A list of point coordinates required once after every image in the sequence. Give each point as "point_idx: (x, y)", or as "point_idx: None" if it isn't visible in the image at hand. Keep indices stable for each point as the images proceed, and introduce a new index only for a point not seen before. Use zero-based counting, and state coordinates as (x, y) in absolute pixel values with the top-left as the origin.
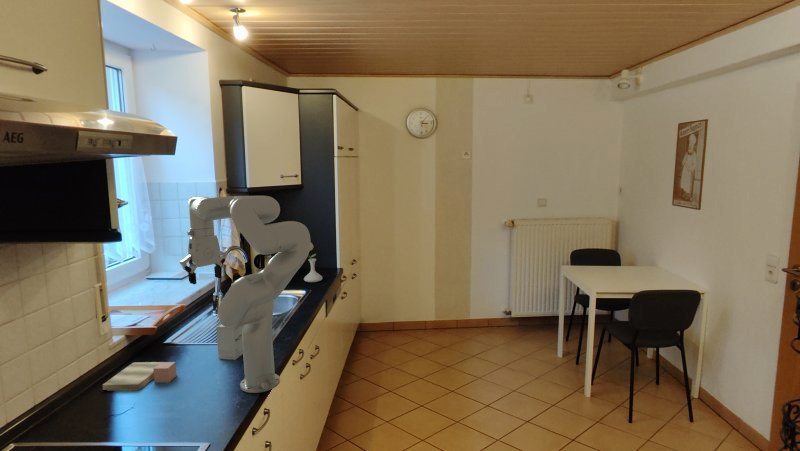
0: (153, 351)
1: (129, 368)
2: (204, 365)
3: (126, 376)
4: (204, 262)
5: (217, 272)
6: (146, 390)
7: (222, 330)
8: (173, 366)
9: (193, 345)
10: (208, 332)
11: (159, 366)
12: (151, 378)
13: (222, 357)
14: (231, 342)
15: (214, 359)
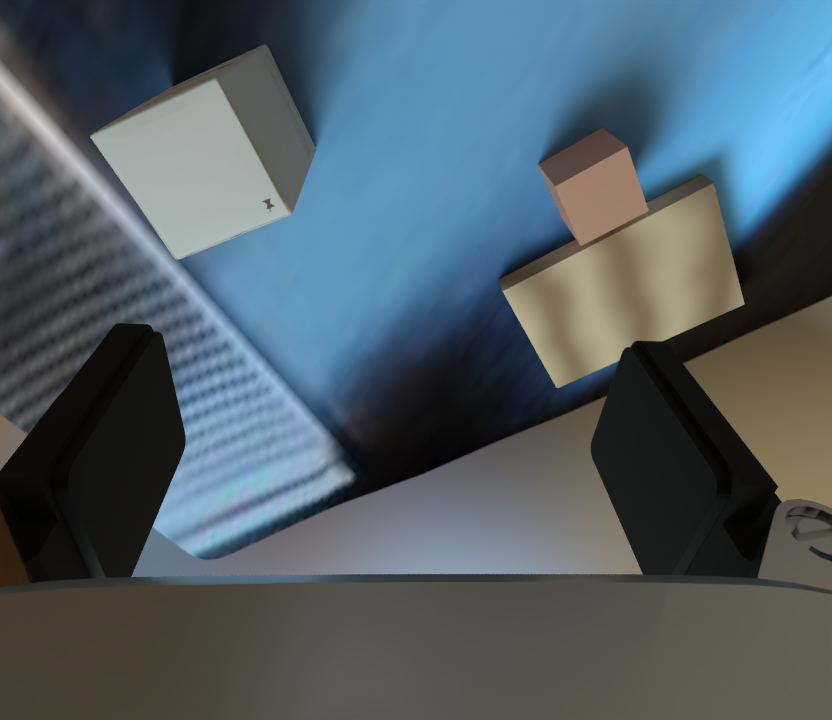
0: (422, 441)
1: (602, 352)
2: (403, 144)
3: (663, 296)
4: (682, 705)
5: (135, 443)
6: (696, 143)
7: (273, 162)
8: (571, 170)
9: (299, 378)
10: None
11: (622, 206)
12: None
13: (305, 127)
14: (256, 82)
15: (332, 164)
